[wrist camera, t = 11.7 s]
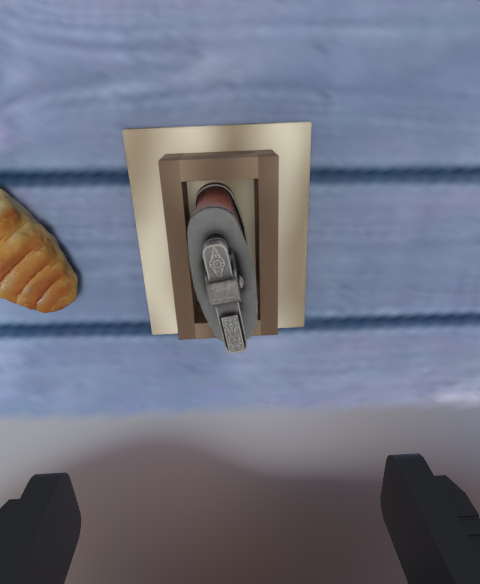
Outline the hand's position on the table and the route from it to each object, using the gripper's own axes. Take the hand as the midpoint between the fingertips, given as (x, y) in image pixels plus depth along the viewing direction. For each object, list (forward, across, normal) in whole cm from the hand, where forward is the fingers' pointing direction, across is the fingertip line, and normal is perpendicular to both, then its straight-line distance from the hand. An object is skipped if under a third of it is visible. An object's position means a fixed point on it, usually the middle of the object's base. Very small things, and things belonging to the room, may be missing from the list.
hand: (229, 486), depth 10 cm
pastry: (+22, +15, 0) cm, 27 cm away
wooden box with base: (+22, 0, 0) cm, 22 cm away
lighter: (+21, 0, 0) cm, 21 cm away
